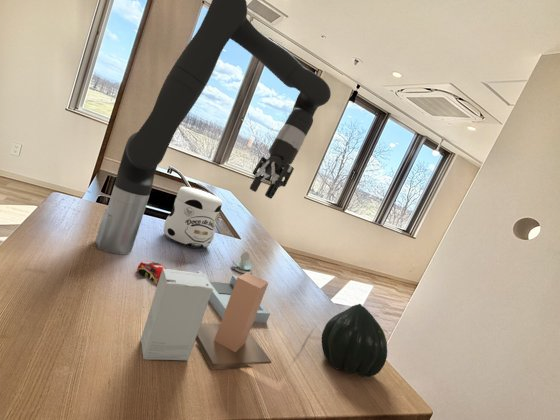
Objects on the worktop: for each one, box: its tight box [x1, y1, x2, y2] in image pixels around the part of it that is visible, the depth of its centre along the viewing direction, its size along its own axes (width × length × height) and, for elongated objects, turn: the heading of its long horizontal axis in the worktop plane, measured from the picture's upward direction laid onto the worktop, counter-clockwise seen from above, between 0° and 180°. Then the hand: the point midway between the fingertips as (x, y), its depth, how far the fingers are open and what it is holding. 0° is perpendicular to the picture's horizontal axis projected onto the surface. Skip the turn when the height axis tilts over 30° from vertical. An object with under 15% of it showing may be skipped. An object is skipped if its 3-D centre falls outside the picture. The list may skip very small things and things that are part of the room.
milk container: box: [163, 186, 223, 249], centre depth 127 cm, size 17×17×18 cm
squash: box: [321, 303, 388, 378], centre depth 85 cm, size 14×15×15 cm
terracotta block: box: [214, 271, 269, 353], centre depth 73 cm, size 5×5×14 cm
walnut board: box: [195, 322, 272, 371], centre depth 74 cm, size 13×13×1 cm
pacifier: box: [232, 251, 253, 274], centre depth 121 cm, size 7×6×6 cm
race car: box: [136, 260, 168, 285], centre depth 91 cm, size 13×5×4 cm, turn 52°
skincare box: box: [140, 268, 213, 361], centre depth 64 cm, size 8×6×15 cm
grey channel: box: [196, 270, 271, 324], centre depth 93 cm, size 12×20×4 cm, turn 33°
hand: (259, 193), depth 103 cm, fingers open, 8 cm apart
